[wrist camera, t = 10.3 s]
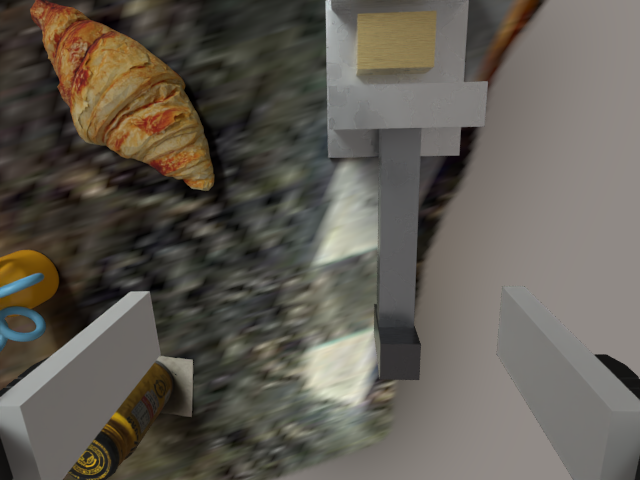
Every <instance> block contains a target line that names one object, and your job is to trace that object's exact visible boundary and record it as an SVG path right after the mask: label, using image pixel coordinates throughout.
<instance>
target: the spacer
mask: <svg viewBox="0 0 640 480" xmlns="http://www.w3.org/2000/svg"><path fill="white" fill-rule="evenodd" d="M436 15H437V11H417V12H391V13H364V14H358V15H357V66H356V76H359V75H395V74H425V73H427V72H428V71H429V70H431V69H432V68H433V67H434V59H435V37H436Z"/></svg>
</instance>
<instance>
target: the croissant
mask: <svg viewBox="0 0 640 480" xmlns="http://www.w3.org/2000/svg"><path fill="white" fill-rule="evenodd" d="M30 11H31V16H32V19H33V21H34V22H35V23H36V24H37V25H38V26H39V27H40V29H41V30H42V31H43V32H42V33H43V43H44V47H45V49H46V51H47V53H48V55H49V56H48V59H50V60H51V63H52V65H53V67H54V69H55V71H56V74H57V76H58V77H59V80H60V84H59V85H58V88H59V91H60V93H61V95H62V98H63V100H64V101H65V102H66V103H67V104H68V105H69V107H70V108H71V109H70V112H71V114H72V118H73V122H74V125H75V127H76V129H77V131H78V133H79V135H80V137H81V138H82V139H83V140H84V141H86V142H87V143H90V144H97V145H107V147H109V148H110V149H111V150H113V151H115V152H116V153H118V154H119V155H120V156H121V157H124V158H127V159H128V158H133V159H136V160H139V161H142V162H144V163H147V164H149V165H150V166H152V167H153V168H154V169H156V170H157V171H158V172H160V173H161V174H162V175H164V176H169V177H174V178H176V179H183V180H184V182H185V183H186V184H187V185H188V186H190V187H191V188H192V189H199V190H203V191H209V190H210V189H211V187H212V186H213V185H214V173H213V165H212V162H211V159H210V154H209V146H208V142H207V139H206V137H205V135H204V129H203V126H202V124H201V122H200V118H199V116H198V114H197V112H196V110H195V109H194V107H193V105H192V104H191V102H190V100H189V98H188V96H187V95H186V93H185V92H184V89H185V83H184V81H183V79H182V78H181V77H180V76H179V75H178V74H177V73H176V72H174V71H173V70H172V69H171V68H170V67H169V66H167V65H166V64H165V63H164V62H162V61H161V60H160V59H159V58H157V57H156V56H154V55H153V54H152V53H150V52H149V51H148V50H147V49H146V48H145V47H144V46H142V45H141V44H140V43H138V42H137V41H135V40H133V39H131V38H129V37H128V36H126V35H123V34H121V33H119V32H117V31H115V30H113V29H111V28H109V27H107V26H105V25H103V24H101V23H97V22H94V21H91V20H90V19H89V18H87V17H86V16H85V15H84V14H83V13H81V12H80V11H78V10H76V9H75V8H72V7H66V6H60V5H57V4H55V3H50V2H48V1H46V0H36V1H35V3H34V5H33V6H32V8H31V9H30Z"/></svg>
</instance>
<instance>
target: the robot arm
mask: <svg viewBox="0 0 640 480" xmlns="http://www.w3.org/2000/svg"><path fill="white" fill-rule="evenodd" d="M160 355H161V354H160V348H159V343H158V337H157V331H156V325H155V320H154V314H153V308H152V302H151V296H150V291H149V292H130V293H128V294H127V295H126V296H125V297H123V298H122V299H121V300H120V301H118V302H117V303H116V304H115V305H113V306H112V307H111V308H110V309H109V310H107V311H106V312H105V313H104V314H102V315H101V316H100V317H99V318H97V319H96V320H95V321H94V322H92V323H91V324H90V325H89V326H88V327H86V328H85V329H84V330H83V331H81V332H80V333H79V334H78V335H76V336H75V337H74V338H73V339H71V340H70V341H69V342H68V343H67V344H65V345H64V346H63V347H62V348H60V349H59V350H58V351H57V352H55V353H54V354H53V355H52V356H50V357H48V358H46V359H44V360H42V361H40V362H38V363H36V364H35V365H33V366H31V367H30V368H28V369H27V370H26V371H25V372H23V373H22V374H21V375H20V376H18V379H14V380H13V381H12V382H11V383H9V384H8V385H7V387H6V388H3V389H2V390H1V391H0V480H62V479H63V478H64V477H65V476H66V474H67V473H68V472H69V470H70V469H71V468H72V467H73V465H74V464H75V463H76V462H77V460H78V459H79V458H80V457H81V455H82V454H83V453H84V451H85V450H86V449H87V448H88V446H89V445H90V444H91V443H92V441H93V440H94V439H95V437H96V436H97V435H98V434H99V432H100V431H101V430H102V429H103V427H104V426H105V425H106V423H107V422H108V421H109V420H110V418H111V417H112V416H113V415H114V413H115V412H116V411H117V410H118V408H119V407H120V406H121V404H122V403H123V402H124V401H125V399H126V398H127V397H128V396H129V394H130V393H131V392H132V390H133V389H134V388H135V387H136V385H137V384H138V383H139V382H140V380H141V379H142V378H143V376H144V375H145V374H146V373H147V371H148V370H149V369H150V368H151V366H152V365H153V364H154V363H155V361H156V360H157V359H158V357H159V356H160ZM497 356H498V357H499V359H500V360H501V362H502V364H503V365H504V367H505V369H506V370H507V372H508V374H509V375H510V377H511V379H512V380H513V382H514V383H515V385H516V387H517V388H518V390H519V391H520V393H521V395H522V396H523V398H524V400H525V401H526V403H527V405H528V406H529V408H530V410H531V411H532V413H533V415H534V416H535V418H536V420H537V421H538V423H539V424H540V426H541V428H542V429H543V431H544V433H545V434H546V436H547V438H548V439H549V441H550V442H551V444H552V446H553V447H554V449H555V451H556V452H557V454H558V456H559V457H560V459H561V460H562V462H563V464H564V465H565V467H566V469H567V470H568V472H569V474H570V475H571V477H572V479H573V480H640V379H639V377H638V376H637V375H636V374H635V373H634V372H633V371H632V370H630V369H629V368H628V367H627V366H626V365H625V364H623V363H621V362H619V361H617V360H615V359H614V358H612V357H610V356H608V355H604V354H603V355H594V354H593V353H592V352H590V351H589V350H588V349H587V348H586V347H585V346H584V345H583V344H582V343H581V342H580V341H579V340H578V339H577V338H576V337H575V336H574V335H573V334H572V333H571V332H570V331H569V330H568V329H567V328H566V327H565V326H564V325H563V324H562V323H561V322H560V321H559V320H558V319H557V318H556V317H555V316H554V315H553V314H552V313H551V312H550V311H549V310H548V309H547V308H546V307H545V306H544V305H543V304H542V303H541V302H540V301H539V300H538V299H537V298H536V297H535V296H534V295H533V294H532V293H531V292H530V291H529V290H528V289H527V288H526V287H525V286H503V287H502V296H501V308H500V319H499V331H498V344H497Z"/></svg>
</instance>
